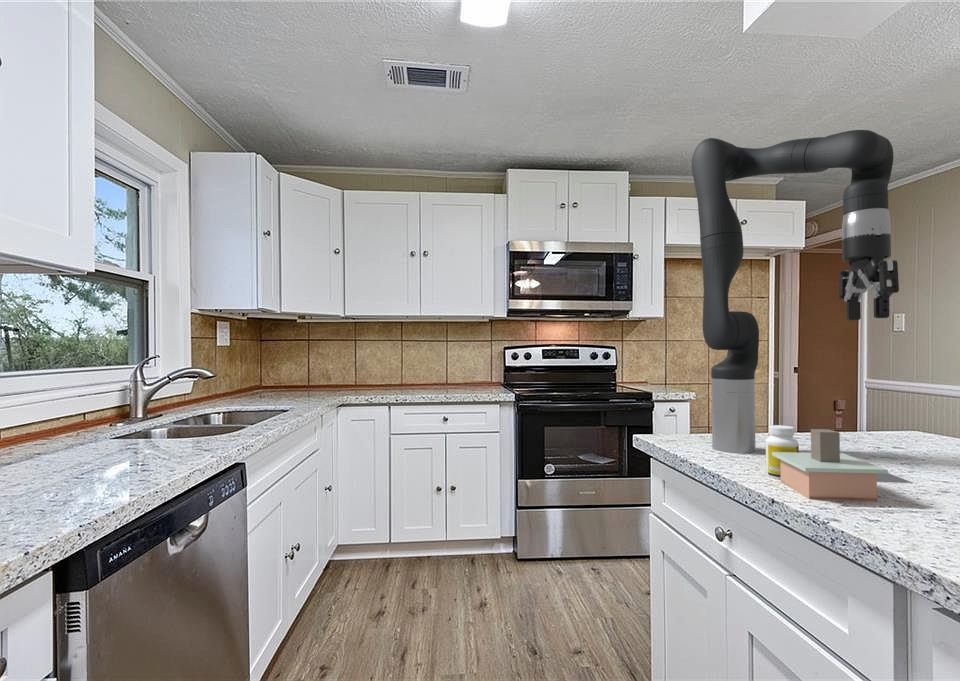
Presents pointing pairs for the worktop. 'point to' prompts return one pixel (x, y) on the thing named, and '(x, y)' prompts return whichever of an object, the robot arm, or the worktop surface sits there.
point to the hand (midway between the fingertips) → (867, 319)
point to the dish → (830, 484)
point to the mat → (890, 478)
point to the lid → (827, 456)
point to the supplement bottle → (779, 448)
